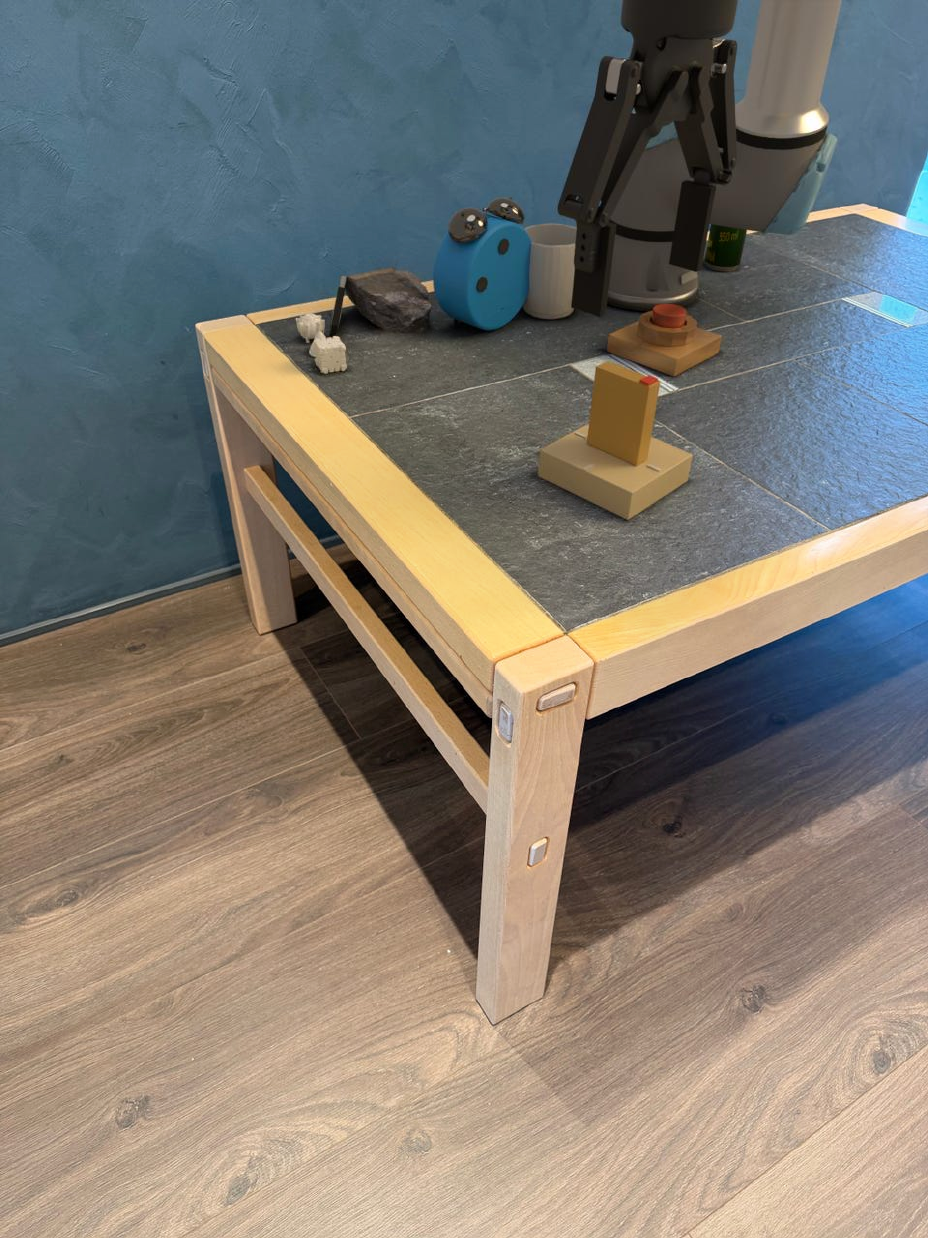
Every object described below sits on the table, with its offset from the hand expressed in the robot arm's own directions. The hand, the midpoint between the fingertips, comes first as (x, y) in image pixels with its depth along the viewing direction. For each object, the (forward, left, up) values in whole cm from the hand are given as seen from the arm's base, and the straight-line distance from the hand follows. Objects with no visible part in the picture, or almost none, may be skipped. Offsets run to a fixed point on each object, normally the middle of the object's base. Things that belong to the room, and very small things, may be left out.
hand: (639, 288), depth 72 cm
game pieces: (-46, +2, -21) cm, 50 cm away
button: (-17, +33, -17) cm, 41 cm away
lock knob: (-3, +4, -18) cm, 18 cm away
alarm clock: (-38, +23, -21) cm, 49 cm away
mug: (-37, +33, -21) cm, 54 cm away
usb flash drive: (-50, +10, -19) cm, 55 cm away
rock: (-46, +18, -22) cm, 54 cm away
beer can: (-29, +66, -21) cm, 75 cm away
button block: (-17, +33, -21) cm, 43 cm away
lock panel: (-3, +4, -21) cm, 21 cm away
